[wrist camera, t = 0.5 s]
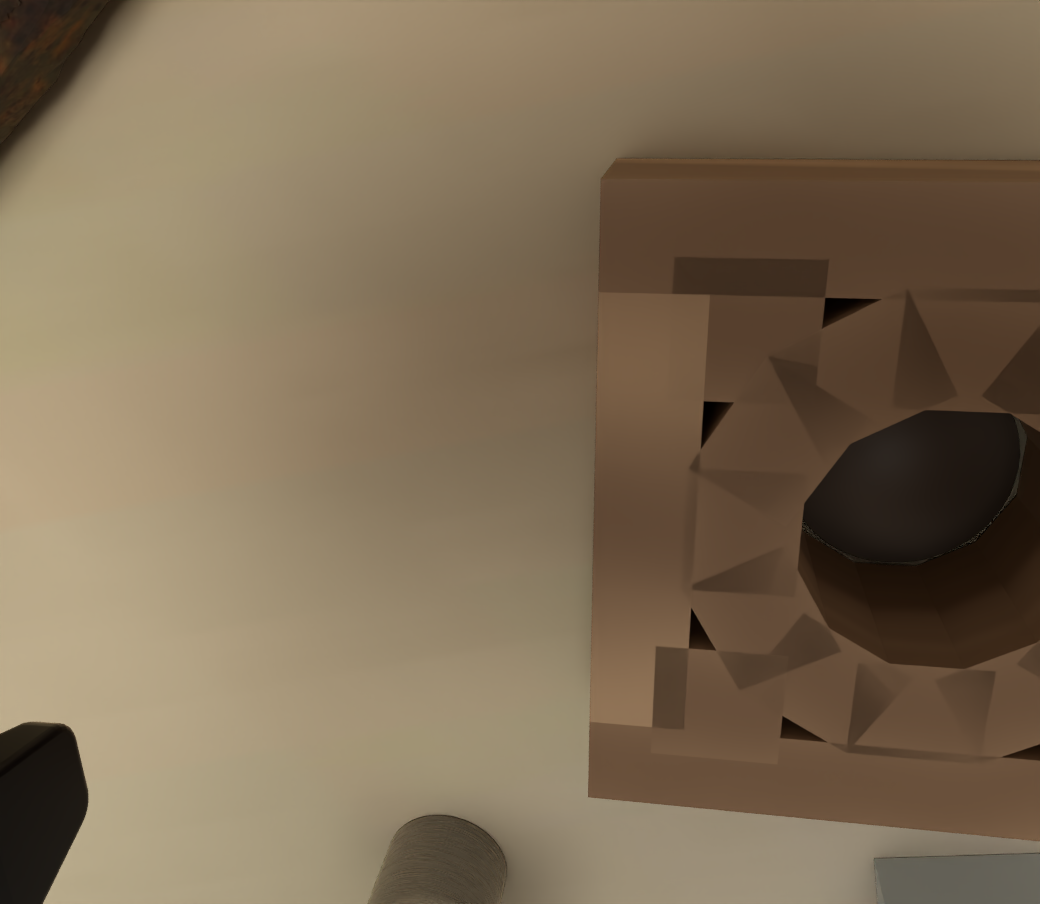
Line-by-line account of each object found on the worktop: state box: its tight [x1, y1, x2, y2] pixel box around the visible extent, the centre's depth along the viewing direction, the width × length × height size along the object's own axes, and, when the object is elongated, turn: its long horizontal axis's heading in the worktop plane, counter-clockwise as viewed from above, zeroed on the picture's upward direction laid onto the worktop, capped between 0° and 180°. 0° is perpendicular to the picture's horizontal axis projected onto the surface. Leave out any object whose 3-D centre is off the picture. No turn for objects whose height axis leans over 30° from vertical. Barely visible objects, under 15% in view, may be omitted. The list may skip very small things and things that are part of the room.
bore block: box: [588, 159, 1040, 841], centre depth 19 cm, size 12×12×4 cm
